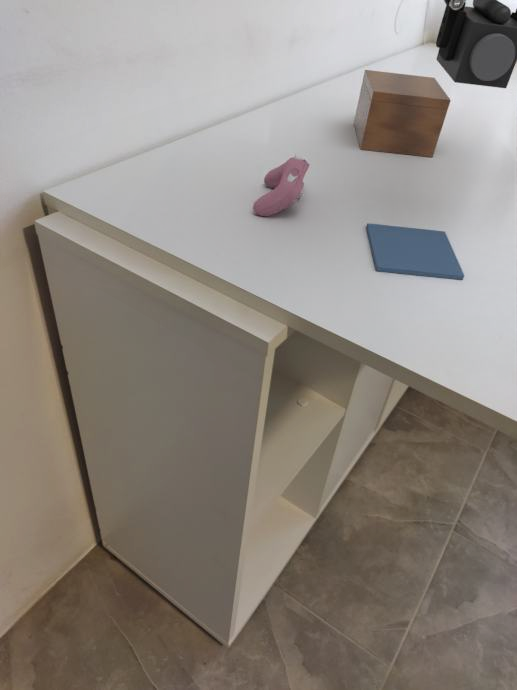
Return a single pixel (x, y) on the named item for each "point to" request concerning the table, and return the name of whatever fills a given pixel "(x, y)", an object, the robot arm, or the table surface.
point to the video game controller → (282, 187)
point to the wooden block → (400, 113)
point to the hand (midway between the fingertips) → (474, 58)
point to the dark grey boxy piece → (484, 46)
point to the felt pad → (413, 251)
